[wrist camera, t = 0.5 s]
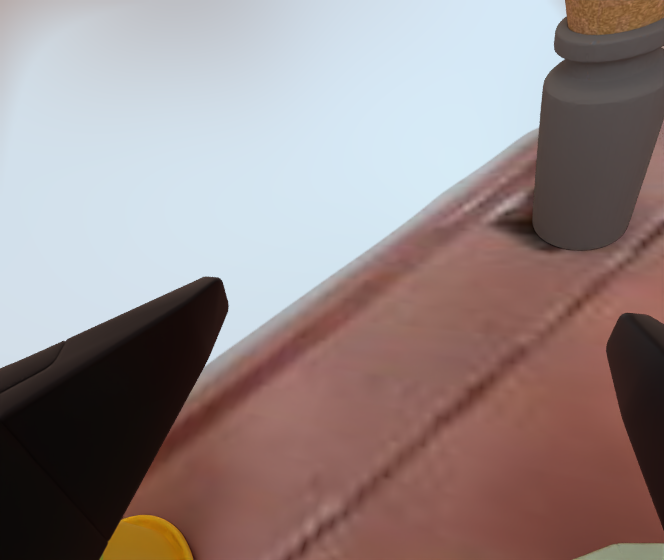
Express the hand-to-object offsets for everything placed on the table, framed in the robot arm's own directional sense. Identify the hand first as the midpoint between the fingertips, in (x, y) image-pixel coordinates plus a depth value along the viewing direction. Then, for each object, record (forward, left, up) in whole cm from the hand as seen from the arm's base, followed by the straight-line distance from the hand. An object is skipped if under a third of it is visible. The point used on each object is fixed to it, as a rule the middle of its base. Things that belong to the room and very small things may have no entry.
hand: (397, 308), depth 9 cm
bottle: (+16, -11, -15) cm, 25 cm away
